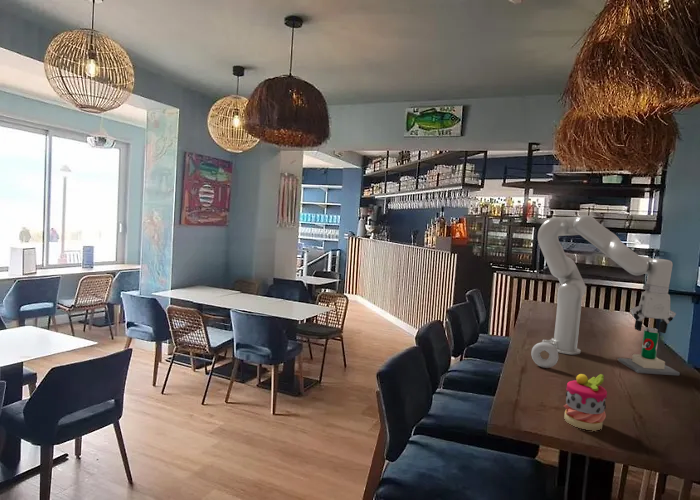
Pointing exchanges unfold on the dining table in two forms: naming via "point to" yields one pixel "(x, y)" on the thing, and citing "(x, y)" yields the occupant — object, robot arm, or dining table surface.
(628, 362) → the build base
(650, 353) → the soda can
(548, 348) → the donut
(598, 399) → the cake
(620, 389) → the dining table surface
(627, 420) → the dining table surface
